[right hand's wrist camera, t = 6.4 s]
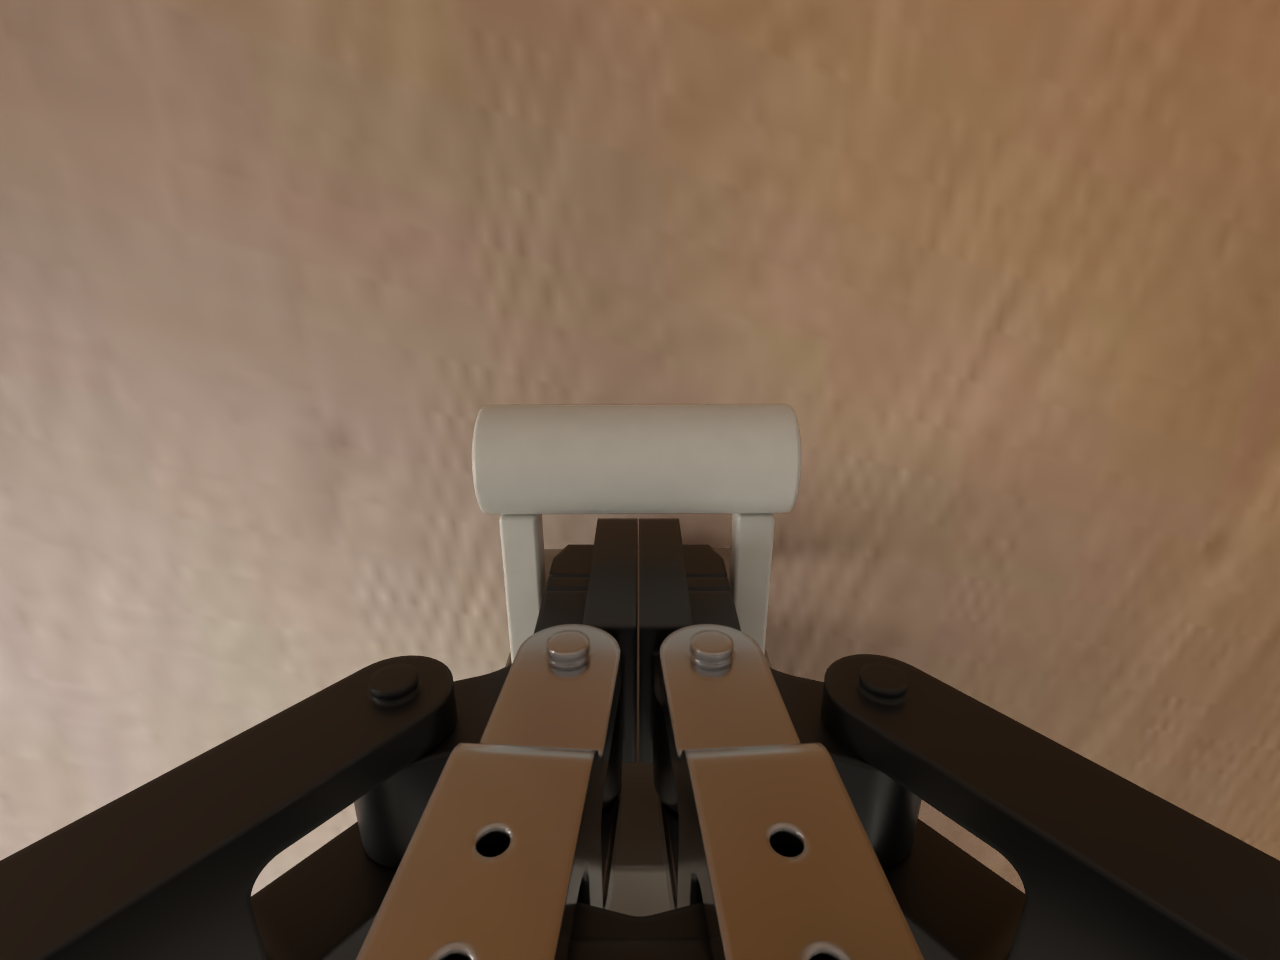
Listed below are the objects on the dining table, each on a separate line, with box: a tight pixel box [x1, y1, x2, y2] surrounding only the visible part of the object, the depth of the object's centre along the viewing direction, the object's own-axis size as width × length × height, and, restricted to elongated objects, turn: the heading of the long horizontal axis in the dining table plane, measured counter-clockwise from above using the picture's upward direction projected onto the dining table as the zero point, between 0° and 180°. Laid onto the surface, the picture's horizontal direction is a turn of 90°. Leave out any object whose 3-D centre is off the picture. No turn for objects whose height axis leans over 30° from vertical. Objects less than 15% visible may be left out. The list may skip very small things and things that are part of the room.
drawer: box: [472, 404, 801, 916], centre depth 16 cm, size 25×5×10 cm, turn 0°
